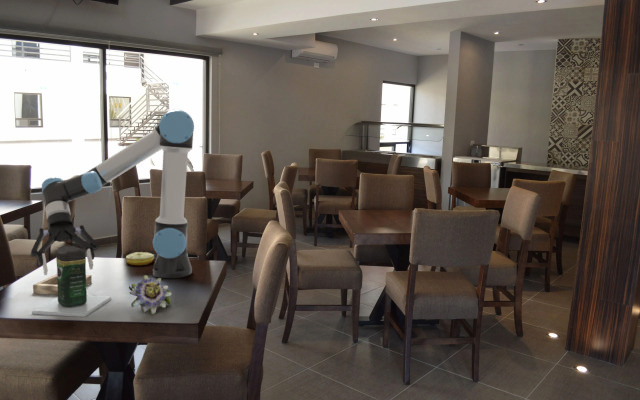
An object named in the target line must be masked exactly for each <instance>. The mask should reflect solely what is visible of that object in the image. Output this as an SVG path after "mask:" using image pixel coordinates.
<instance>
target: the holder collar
mask: <svg viewBox="0 0 640 400" xmlns="http://www.w3.org/2000/svg"><path fill="white" fill-rule="evenodd" d="M90 284H92V274H86V287H87V286H89V285H90ZM32 292H33V294H36V295H37V294H39V295H40V294H41V295H44V294H45V295H57V296H58V285H57V273H56V274H54V275H52V276H50V277H47V278H46V279H45V278H44V279H43V280H41V281H39V282H37V283H34V284H33V285H32Z"/></svg>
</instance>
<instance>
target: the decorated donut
mask: <svg viewBox="0 0 640 400" xmlns="http://www.w3.org/2000/svg"><path fill="white" fill-rule="evenodd" d="M154 258H155V255H154V254H152V253H150V252H147V251H146V252H143V251H140V252H139V251H136V252H131V253H129V254H127V255H126V257H125V261H126V263H127V264H128V265H132V266H145V265H149V264H151V263H152V262H153V260H154Z"/></svg>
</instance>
